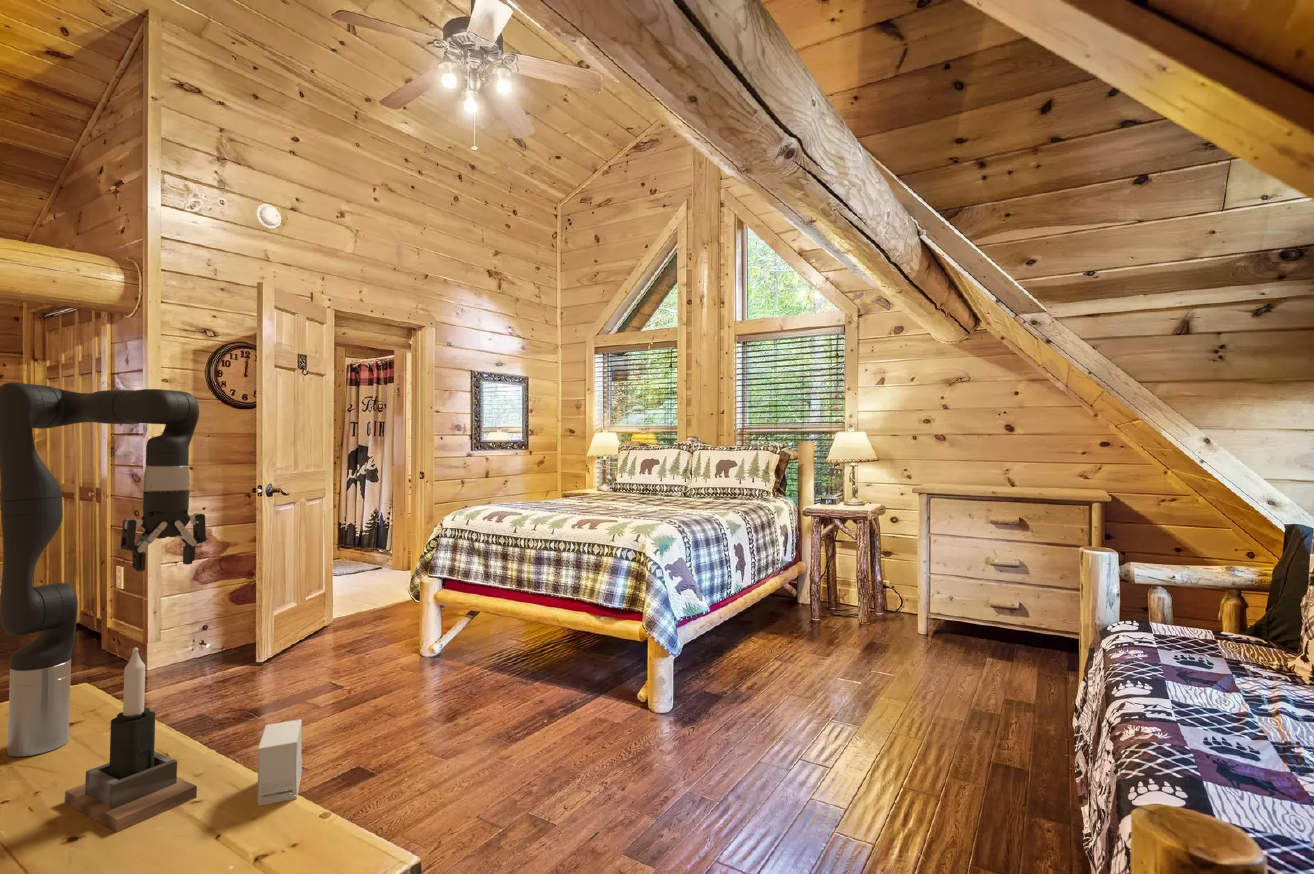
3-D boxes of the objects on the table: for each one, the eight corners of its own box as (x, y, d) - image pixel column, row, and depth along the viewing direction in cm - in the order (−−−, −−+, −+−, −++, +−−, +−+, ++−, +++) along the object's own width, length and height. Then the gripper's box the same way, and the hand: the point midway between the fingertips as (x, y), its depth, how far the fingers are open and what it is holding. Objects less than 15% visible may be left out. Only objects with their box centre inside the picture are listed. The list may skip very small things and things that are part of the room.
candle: (128, 797, 113) (133, 653, 113) (105, 793, 114) (109, 650, 114) (156, 782, 118) (160, 644, 118) (133, 779, 119) (137, 642, 119)
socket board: (64, 802, 115) (65, 767, 115) (143, 772, 125) (144, 740, 125) (116, 831, 106) (118, 794, 106) (196, 797, 117) (197, 763, 117)
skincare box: (263, 778, 124) (265, 723, 124) (302, 772, 127) (303, 718, 127) (255, 807, 114) (256, 747, 115) (296, 799, 117) (298, 741, 117)
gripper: (194, 485, 141) (192, 560, 140) (115, 488, 128) (113, 571, 128) (214, 487, 137) (212, 563, 137) (135, 490, 124) (133, 575, 124)
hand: (164, 567), depth 132 cm, fingers open, 8 cm apart
